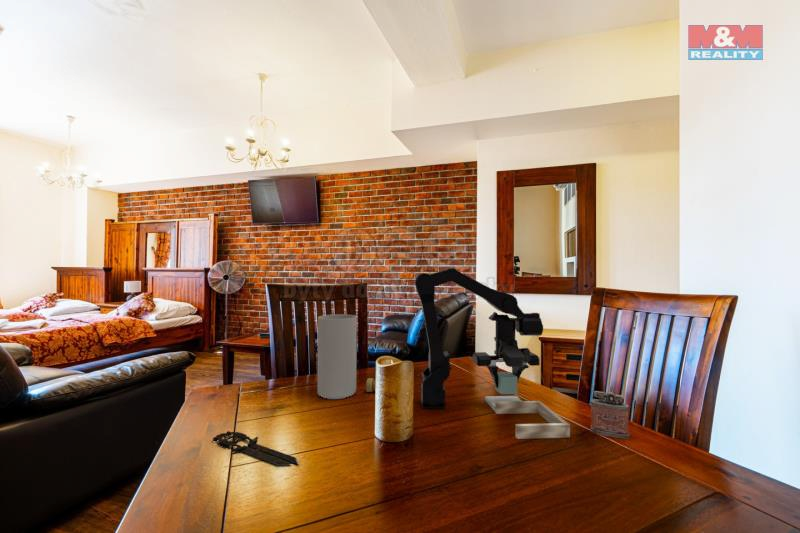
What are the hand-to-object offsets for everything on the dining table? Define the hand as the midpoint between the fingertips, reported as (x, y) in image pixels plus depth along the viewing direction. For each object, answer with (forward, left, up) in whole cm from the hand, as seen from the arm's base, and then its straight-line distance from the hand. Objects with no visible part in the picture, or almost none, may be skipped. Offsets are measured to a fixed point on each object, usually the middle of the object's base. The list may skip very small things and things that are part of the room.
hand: (505, 387), depth 99 cm
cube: (0, 0, -1) cm, 1 cm away
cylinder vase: (-52, +13, -5) cm, 54 cm away
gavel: (-36, +21, -6) cm, 42 cm away
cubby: (+2, -13, -5) cm, 14 cm away
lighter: (+19, -19, -5) cm, 27 cm away
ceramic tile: (0, 0, -5) cm, 5 cm away
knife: (-65, -22, -6) cm, 69 cm away
